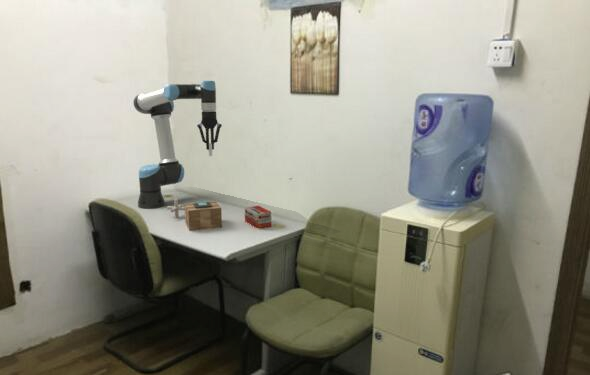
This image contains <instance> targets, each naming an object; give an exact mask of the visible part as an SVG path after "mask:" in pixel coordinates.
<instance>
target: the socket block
mask: <svg viewBox="0 0 590 375" xmlns="http://www.w3.org/2000/svg"><path fill="white" fill-rule="evenodd" d="M209 202H210V204H211V205H212V207H209V208H198V209H196V208H195V206H194V205H193V203H194V202H192V203H191V202H189V203H184V207H185V210H184V215H185V216H184V217H185V218H184V219H185V222H184V223H185V225H186V227H187V229H188V231H199V230H208V229H209V230H210V229H219V228H220V229H221V228H222V227H223V222H222V220H223V219H222V217H223V216H222V207H221V206H220V204H218V202H217V201H214V200H213V201H209Z"/></svg>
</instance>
